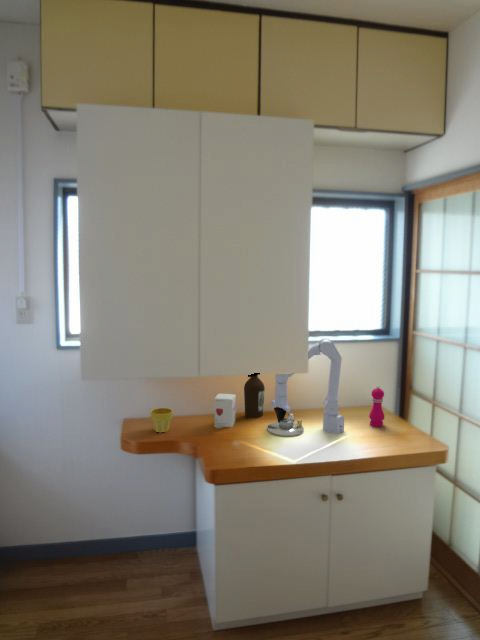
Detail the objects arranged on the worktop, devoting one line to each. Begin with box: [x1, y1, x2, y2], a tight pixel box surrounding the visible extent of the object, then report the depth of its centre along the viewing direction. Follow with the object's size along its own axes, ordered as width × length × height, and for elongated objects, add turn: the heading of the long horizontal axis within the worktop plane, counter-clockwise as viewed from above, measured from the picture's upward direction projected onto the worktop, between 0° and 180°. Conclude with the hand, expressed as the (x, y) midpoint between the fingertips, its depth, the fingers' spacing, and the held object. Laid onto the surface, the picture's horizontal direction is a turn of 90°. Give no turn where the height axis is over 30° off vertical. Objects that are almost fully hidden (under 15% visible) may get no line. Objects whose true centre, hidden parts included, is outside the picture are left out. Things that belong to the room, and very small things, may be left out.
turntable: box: [267, 418, 305, 438], centre depth 219 cm, size 17×17×4 cm
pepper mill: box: [368, 385, 385, 428], centre depth 229 cm, size 7×7×20 cm
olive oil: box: [243, 374, 266, 419], centre depth 239 cm, size 11×11×25 cm
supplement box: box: [213, 393, 237, 429], centre depth 226 cm, size 9×9×15 cm
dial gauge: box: [286, 412, 295, 422], centre depth 230 cm, size 4×6×5 cm, turn 136°
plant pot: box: [150, 407, 174, 433], centre depth 219 cm, size 10×10×10 cm
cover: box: [279, 417, 294, 429], centre depth 219 cm, size 6×6×4 cm
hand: (280, 422), depth 223 cm, fingers closed
